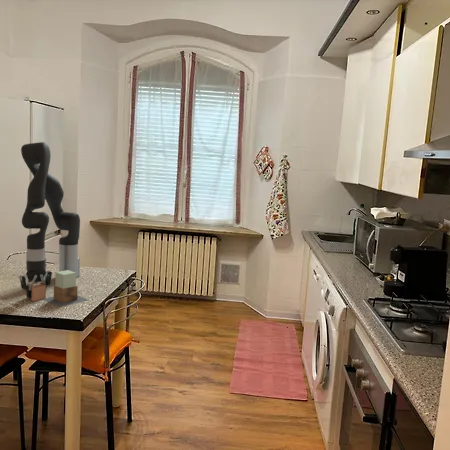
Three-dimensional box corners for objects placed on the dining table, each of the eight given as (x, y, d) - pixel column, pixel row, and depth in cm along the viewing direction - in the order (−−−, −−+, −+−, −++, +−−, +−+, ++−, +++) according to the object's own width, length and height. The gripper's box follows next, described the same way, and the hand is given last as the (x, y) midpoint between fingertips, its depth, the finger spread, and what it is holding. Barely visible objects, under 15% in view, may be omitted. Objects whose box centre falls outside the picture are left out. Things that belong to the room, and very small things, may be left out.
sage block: (67, 283, 203) (67, 270, 202) (75, 286, 199) (75, 272, 198) (55, 285, 198) (55, 272, 197) (63, 288, 195) (63, 274, 194)
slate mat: (70, 293, 209) (70, 292, 209) (89, 300, 201) (89, 299, 201) (41, 300, 198) (41, 299, 198) (60, 307, 190) (60, 306, 190)
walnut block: (68, 296, 204) (68, 282, 204) (77, 299, 200) (77, 286, 199) (53, 299, 199) (53, 285, 198) (62, 303, 195) (63, 289, 194)
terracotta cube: (38, 295, 203) (38, 283, 203) (45, 298, 200) (45, 285, 199) (26, 297, 199) (26, 285, 198) (33, 300, 196) (33, 288, 195)
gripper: (46, 254, 205) (46, 291, 207) (15, 259, 194) (15, 298, 196) (56, 257, 200) (56, 295, 203) (24, 262, 189) (24, 302, 192)
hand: (36, 296), depth 199 cm, fingers closed on terracotta cube, 5 cm apart
